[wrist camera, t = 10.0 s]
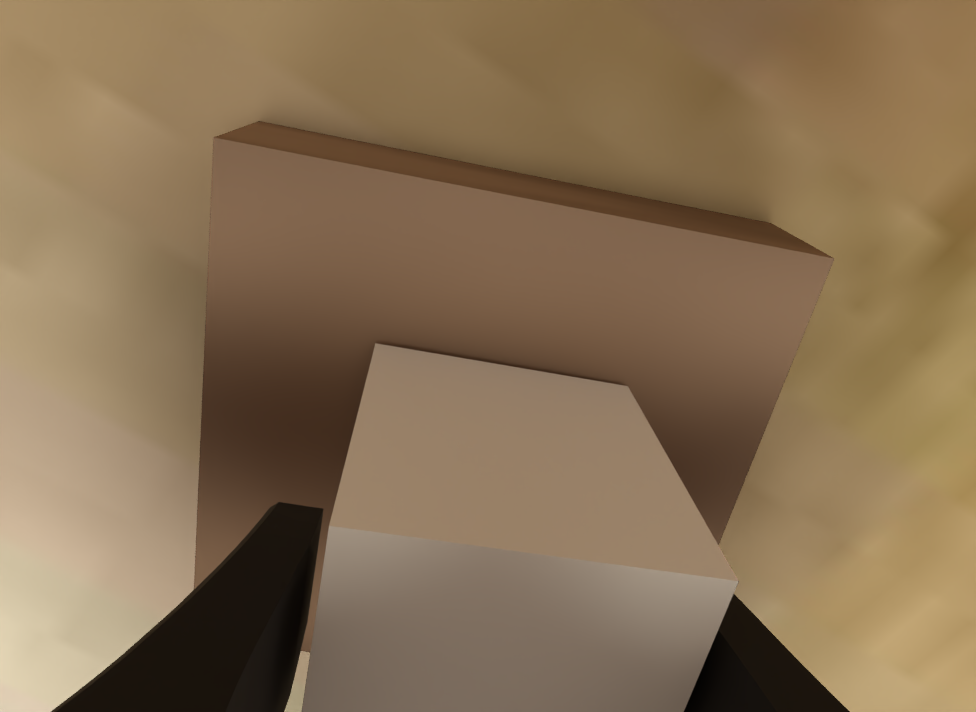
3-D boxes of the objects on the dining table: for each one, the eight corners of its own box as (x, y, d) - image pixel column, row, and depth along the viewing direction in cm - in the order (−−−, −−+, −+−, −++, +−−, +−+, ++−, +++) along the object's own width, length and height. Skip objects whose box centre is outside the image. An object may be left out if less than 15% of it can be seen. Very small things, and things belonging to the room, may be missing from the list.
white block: (566, 585, 14) (626, 847, 9) (341, 556, 13) (286, 819, 9) (627, 385, 12) (738, 580, 8) (375, 343, 12) (329, 525, 7)
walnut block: (628, 595, 18) (658, 692, 15) (235, 543, 17) (192, 638, 14) (762, 218, 14) (833, 259, 12) (264, 119, 13) (213, 137, 10)
